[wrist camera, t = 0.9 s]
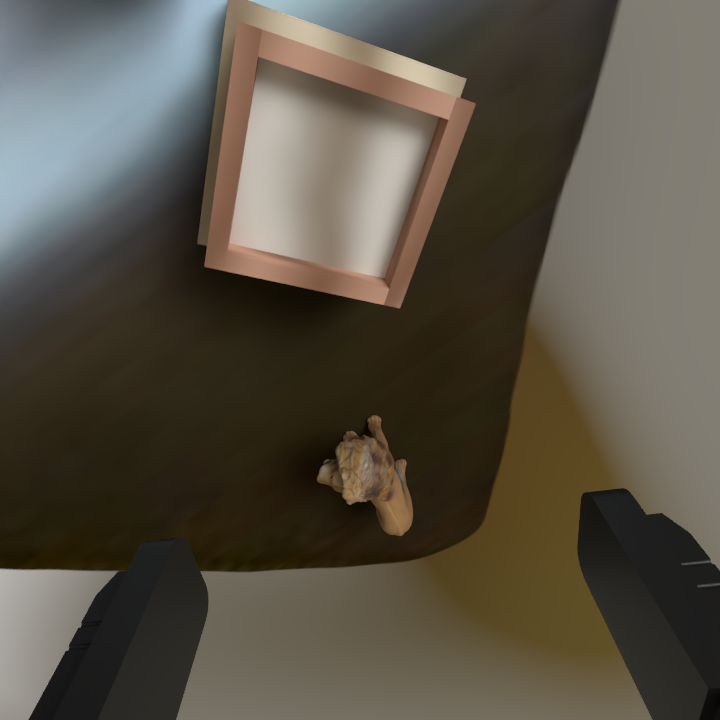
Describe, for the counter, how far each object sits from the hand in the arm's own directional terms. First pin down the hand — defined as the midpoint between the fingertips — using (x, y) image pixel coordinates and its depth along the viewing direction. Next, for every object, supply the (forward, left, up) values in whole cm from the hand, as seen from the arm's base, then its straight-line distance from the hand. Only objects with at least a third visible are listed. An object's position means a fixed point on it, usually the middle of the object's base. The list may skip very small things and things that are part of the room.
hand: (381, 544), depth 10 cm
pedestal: (0, +3, -26) cm, 26 cm away
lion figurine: (+10, -21, -26) cm, 35 cm away
